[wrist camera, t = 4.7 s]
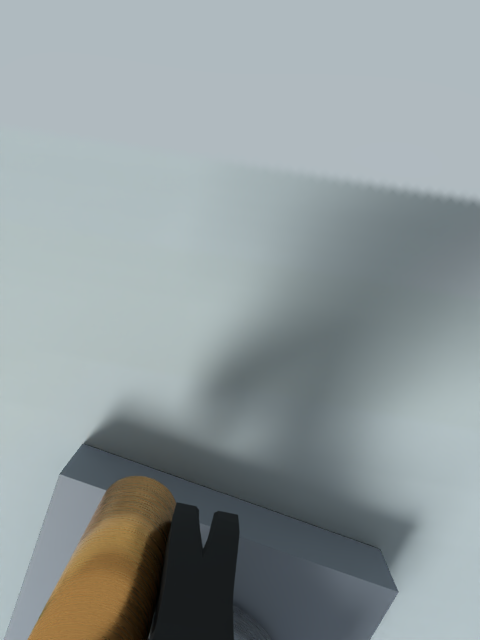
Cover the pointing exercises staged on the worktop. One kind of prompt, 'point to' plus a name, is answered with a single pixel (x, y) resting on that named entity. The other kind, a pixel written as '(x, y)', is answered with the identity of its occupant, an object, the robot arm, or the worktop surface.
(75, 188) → the worktop surface
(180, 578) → the robot arm
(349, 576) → the base plate
